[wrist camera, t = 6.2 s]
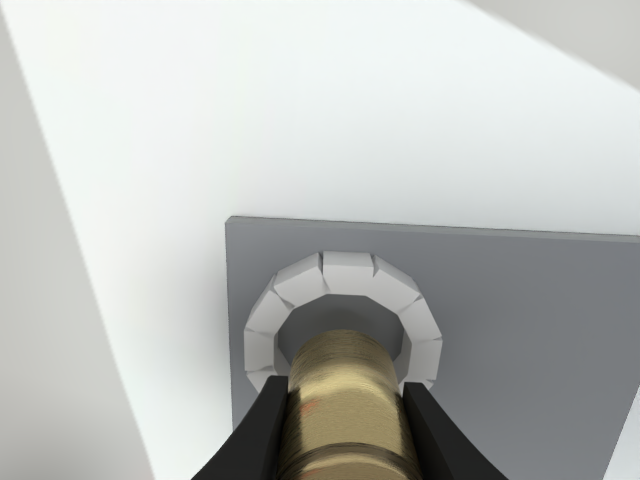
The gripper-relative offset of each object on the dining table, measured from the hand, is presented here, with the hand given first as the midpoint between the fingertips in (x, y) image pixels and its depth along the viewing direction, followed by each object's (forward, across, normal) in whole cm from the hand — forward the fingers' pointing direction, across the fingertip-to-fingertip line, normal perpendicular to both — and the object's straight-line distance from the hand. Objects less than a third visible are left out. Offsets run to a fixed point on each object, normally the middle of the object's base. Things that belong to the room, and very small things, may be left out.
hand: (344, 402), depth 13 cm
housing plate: (+5, -4, +2) cm, 7 cm away
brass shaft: (+2, 0, 0) cm, 2 cm away
